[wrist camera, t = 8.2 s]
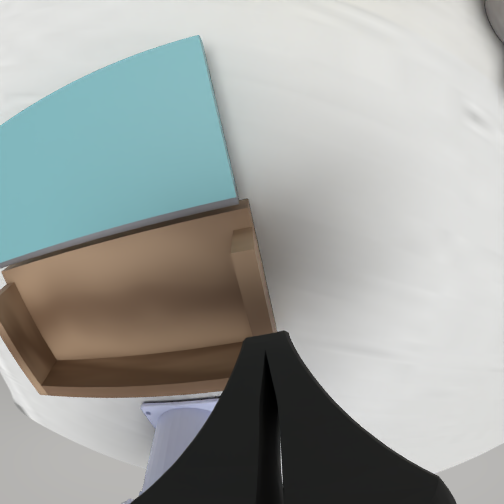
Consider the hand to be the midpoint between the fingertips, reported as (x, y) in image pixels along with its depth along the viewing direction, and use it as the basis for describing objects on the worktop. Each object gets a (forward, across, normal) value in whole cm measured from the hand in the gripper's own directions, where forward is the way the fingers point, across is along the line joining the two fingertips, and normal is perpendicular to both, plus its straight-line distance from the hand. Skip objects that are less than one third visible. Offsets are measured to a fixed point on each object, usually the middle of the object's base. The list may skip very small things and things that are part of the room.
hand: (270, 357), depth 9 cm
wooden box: (+9, +9, +2) cm, 13 cm away
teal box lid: (+7, +9, -4) cm, 12 cm away
